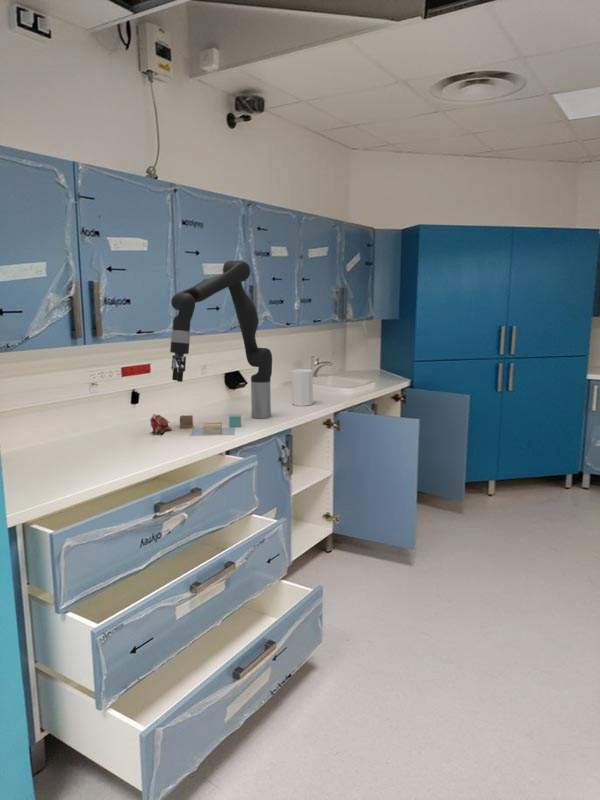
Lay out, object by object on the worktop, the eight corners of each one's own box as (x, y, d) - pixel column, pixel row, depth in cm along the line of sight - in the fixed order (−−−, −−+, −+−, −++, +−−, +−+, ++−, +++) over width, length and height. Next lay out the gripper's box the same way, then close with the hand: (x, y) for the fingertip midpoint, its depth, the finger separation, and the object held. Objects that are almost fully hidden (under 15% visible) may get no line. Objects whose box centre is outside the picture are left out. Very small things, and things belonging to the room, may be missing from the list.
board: (193, 431, 248) (192, 428, 248) (235, 430, 250) (235, 427, 250) (189, 438, 235) (189, 435, 234) (234, 437, 236) (234, 434, 236)
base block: (204, 430, 243) (204, 422, 243) (221, 430, 244) (221, 421, 243) (203, 434, 236) (203, 425, 236) (221, 434, 237) (220, 425, 236)
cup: (303, 402, 320) (303, 368, 317) (317, 404, 311) (317, 370, 308) (287, 404, 313) (287, 370, 310) (300, 407, 304) (300, 372, 301)
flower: (144, 432, 239) (155, 416, 238) (144, 423, 247) (154, 408, 246) (164, 442, 243) (175, 428, 242) (163, 434, 251) (173, 419, 250)
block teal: (229, 427, 255) (229, 414, 254) (241, 427, 256) (240, 414, 255) (229, 430, 250) (229, 416, 249) (240, 429, 251) (240, 416, 250)
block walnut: (181, 428, 253) (180, 415, 252) (193, 428, 254) (192, 415, 253) (180, 431, 248) (179, 417, 247) (191, 431, 249) (191, 417, 248)
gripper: (193, 342, 234) (190, 382, 235) (185, 342, 247) (182, 380, 248) (175, 341, 231) (172, 381, 232) (167, 340, 244) (164, 379, 245)
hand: (177, 380), depth 240 cm, fingers open, 8 cm apart
